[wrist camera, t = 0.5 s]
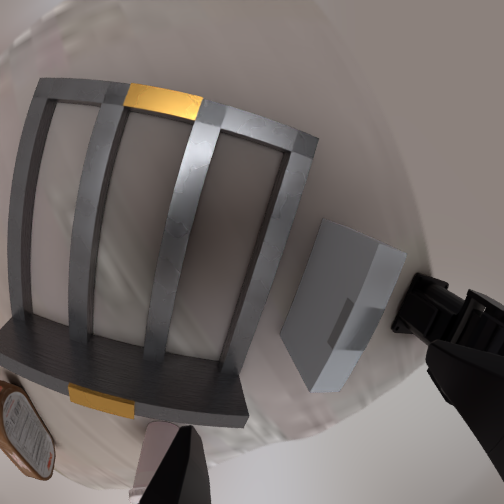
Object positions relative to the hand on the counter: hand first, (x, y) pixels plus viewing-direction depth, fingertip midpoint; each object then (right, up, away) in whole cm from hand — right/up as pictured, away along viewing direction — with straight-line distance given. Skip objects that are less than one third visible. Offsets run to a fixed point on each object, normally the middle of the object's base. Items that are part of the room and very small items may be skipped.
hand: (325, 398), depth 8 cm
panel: (+2, +2, +13) cm, 14 cm away
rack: (-11, +6, +9) cm, 15 cm away
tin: (-29, -15, +12) cm, 35 cm away
